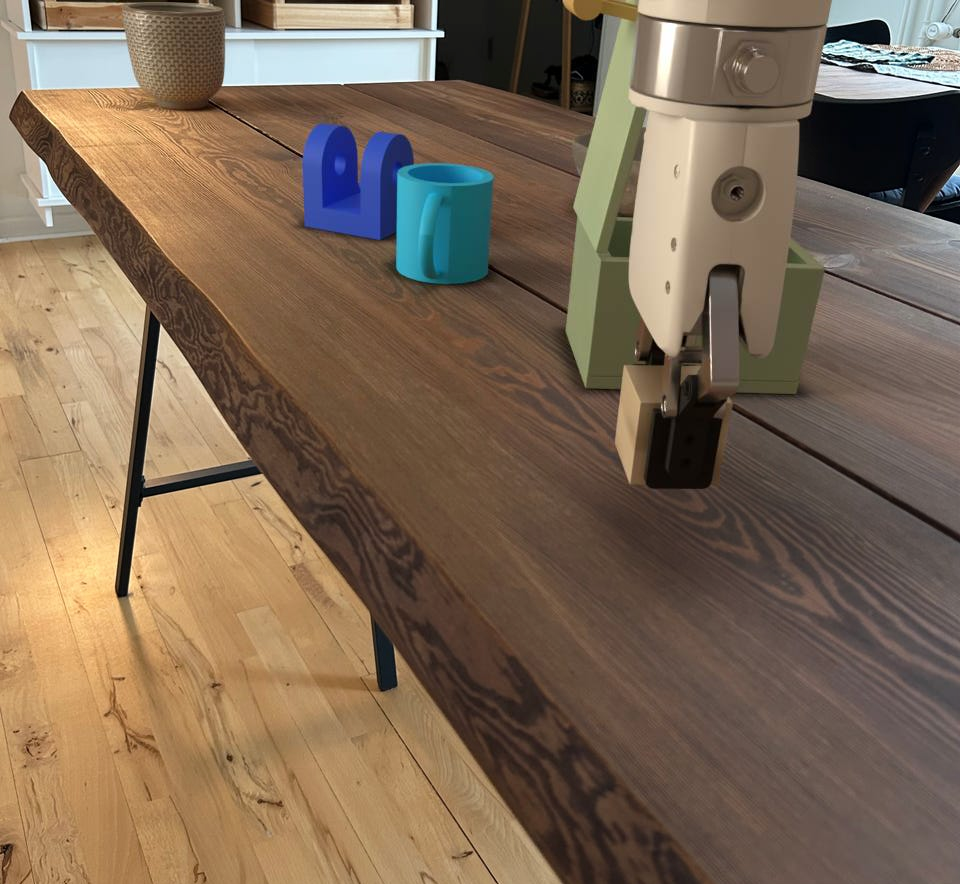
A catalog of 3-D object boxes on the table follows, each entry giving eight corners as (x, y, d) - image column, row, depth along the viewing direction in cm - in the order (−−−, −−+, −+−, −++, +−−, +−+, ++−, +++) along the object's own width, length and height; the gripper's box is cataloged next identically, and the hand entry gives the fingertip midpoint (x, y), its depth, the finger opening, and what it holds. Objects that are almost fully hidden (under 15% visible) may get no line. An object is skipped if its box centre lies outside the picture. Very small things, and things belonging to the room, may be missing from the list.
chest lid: (646, -30, 67) (566, -50, 66) (683, -19, 57) (590, -42, 57) (583, 210, 75) (511, 195, 74) (607, 254, 65) (524, 237, 64)
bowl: (599, 187, 121) (607, 115, 117) (747, 212, 115) (761, 136, 110) (539, 220, 107) (546, 139, 103) (704, 250, 101) (718, 165, 96)
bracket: (380, 240, 98) (380, 140, 93) (304, 226, 100) (301, 129, 95) (458, 200, 112) (461, 112, 107) (390, 189, 114) (391, 103, 110)
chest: (752, 337, 80) (775, 223, 76) (796, 394, 71) (825, 268, 67) (565, 331, 79) (577, 215, 75) (585, 388, 70) (600, 259, 65)
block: (697, 443, 54) (710, 365, 52) (718, 485, 50) (733, 403, 48) (614, 443, 54) (623, 364, 51) (629, 484, 50) (640, 402, 48)
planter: (200, 94, 159) (193, 1, 152) (249, 109, 150) (243, 11, 144) (115, 101, 151) (103, 2, 144) (161, 117, 142) (151, 13, 135)
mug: (407, 251, 95) (409, 159, 91) (495, 260, 94) (500, 168, 90) (374, 292, 85) (374, 191, 80) (472, 302, 84) (477, 201, 80)
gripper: (893, 108, 35) (789, 552, 45) (755, 44, 50) (699, 391, 59) (678, 102, 35) (620, 552, 44) (601, 38, 49) (569, 389, 59)
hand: (665, 456), depth 52 cm, fingers closed on block, 4 cm apart
